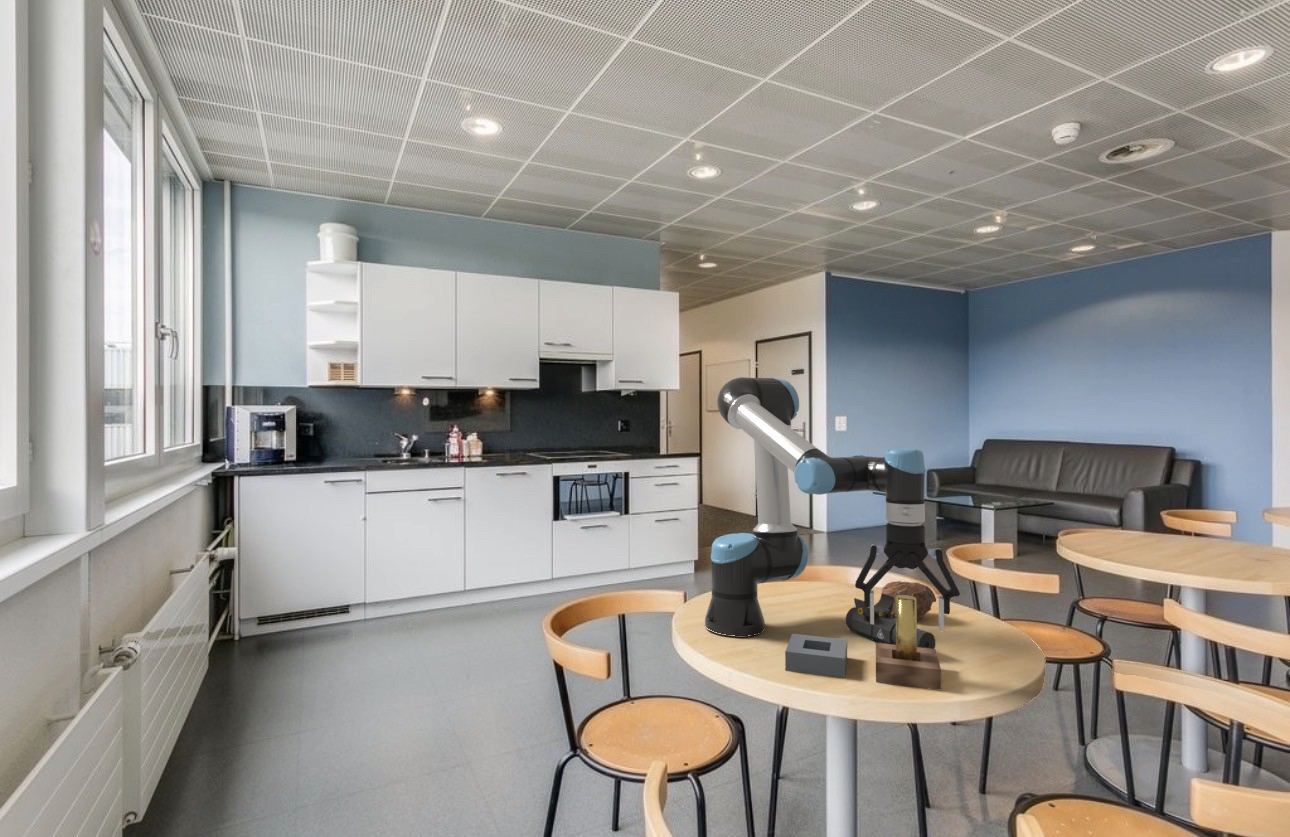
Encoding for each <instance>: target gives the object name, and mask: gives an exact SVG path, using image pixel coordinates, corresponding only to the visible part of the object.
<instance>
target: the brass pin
mask: <svg viewBox="0 0 1290 837" xmlns="http://www.w3.org/2000/svg"><path fill="white" fill-rule="evenodd" d="M895 618H896V659H901V660H910V661H917V628H918V627H917V626H918V625H917V624H918V623H917V622H918V620H917V606H916V598H915V597H913V596H908V595H898V596H896V617H895Z"/></svg>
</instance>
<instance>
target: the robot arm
mask: <svg viewBox="0 0 1290 837" xmlns="http://www.w3.org/2000/svg"><path fill="white" fill-rule="evenodd" d="M716 401H717V402H716V404H717V409H718V411H719V413H720V416H721V417H722V418H723V420H724V421H725V422H726V423H728V424H729V425H730V426H731V427H732V428H734V429H736V430H742V431H743V432H744V433H746V434H747V435H748V436H749V437H750V438H751V439H752V440H753V444H754V445H753V446H754V447H753V448H754V449H753V450H754V465H755V467H754V468H755V480H756V481H755V484H756V485H755V486H756V487H755V488H756V503H757V504H756V506H757V520H758V523H757V525H755V527H754V528H753V529H752V533H747V532H738V533H728V534H724V535H722V536H718V537H716V538H715V539H714V540H713V542H712V544H711V554H710V560H711V599H710V601H709V604H708V607H707V611H706V614H705V617H704V626H706V627H707V628H708V629H710V630H712V631H714V632H717V633H721V634H726V635H735V636H747V637H749V636H748V635H754V634H757V635H759V634H758V633H760V634H762V633H763V632H764V631H765V630H764V629H766V628H765V626H766V625H765V617H764V614H763V611H762V608H761V605H760V602H759V599H758V598H759V597H758V585H759V584H763V583H764V584H765V583H771V582H772V583H774V582H779V581H783V582H784V581H788V580H791V579H794V578H795V579H796V578H797V577H799V576H800V575H802V573H803V572H804V571H805V570H806V568H807V565H808V560H809V550H808V546H807V543H805V539H804V538H803V537H802V536H800V535H799V534H798V528H797V527H796V526H794V524H793V523H792V518H791V502H790V501H791V499H790V482H789V470H790V471H792V473H793V476H794V482H795V483H796V485H797V488H798V490H800V491H801V492H803V493H805V494H808V495H825V494H827V495H828V494H835V493H849V492H850V493H851V492H861V491H870V492H882V493H885V520H886V521H887V522H886V524H885V545H884V546H883V545H877V544H876V543H871V544H870V552H869V555H868V557H867V559H866V560H865V563H864V564H863V567H862V568H861V570H860V573H859V574H858V576H857V579H856V581H855V583H854V586H855V588H856V589H859V590H862V592H863V593H864V594H863V595H864V596H863V601H864V605H865V607H870V624H873V625H874V605H875V590H873V589H874V587H875V586H876V585H877V584H878V583H879V582H880V581H881V580H882V579H883V577H884V576H886V575H887V573H889V571H890V570H892V568H893V567H896V568H897V569H908V570H915V569H917V568H918V569H919V570H920V571H921V573H923V575H924V576H926V578H927V579H928V580H929V581H930V583H931V584H932V585H933V586H934V587H935V589H937V591H938V592H939V593H940V594H941V595H938V629H939V632H945V615H950V613H951V604H950V603H951V599H952V598H954V597H960V595H961V594H960V590H959V589H958V587H957V585H956V583H955V581H954V579H953V576H952V574H951V573H950V570H949V569H948V567H947V566H946V563H945V561H944V557H943V556H944V554H943V551H942V548H941V547H938V546H937V547H936V546H935V548H927V546H926V526H925V525H924V523H925V522H926V502H925V501H926V500H925V481H926V480H925V478H926V467H925V459H924V458H925V456H924V453H923V451H922V450H920V449H918V448H889V449H887V450H886V451H885V456H884V457H880V456H878V457H877V456H868V455H867V456H866V455H849V456H845V457H840V456H839V457H831V456H830V455H828V454H826V453H824V452H823V451H822V450H820V449H819V448H818V447H816V446H815V445H814V444H812V442H809V441H808V440H807V439H806V438H804V437H803V436H801V434H799V433H798V432H797V431H796V430H794V429H793V428H792V420H794V419H795V418H796V416H797V412H799V410H800V399H799V395H798V392H797V390H796V388H795V387H794V386H793V385H792V384H791V383H790V381H787V380H785V379H779V378H774V377H743V376H742V377H735V378H732V379H730V380H729V381H727V382H726V383H725V384H723V386H722V387H721V389H720V390H719V393H718V395H717V400H716ZM881 553H884V554H885V555H886V557H887V558H888V559H886V561H885V562H884V563H883V565H882V566H880V567H879V569H878V570H877V571H876V572H875V573H874V574H873V575H872V577H870V579H869V580H868V581H867V582H866V583H865V580H866V578H867V576H868V574H869V572H870V570H871V568H872V567H873V565H874V562H875V560H876V558H877V557H879V556H881ZM928 555H929V556H931V559H932V560H936V563H937V565H938V567H939V569H940V571H941V572H942V574H943V577H944V579H945V581H946V582H947V584H948V586H949V588H950V589H947V588H946V587H945V586H944V585H943V583H942V582H941V581H940V580H939V579H938V577H936V576H935V574H934V573H933V572H932V571H931V569H930V568H929V567H928V566H927V564H926V563H925V562H924V560H925V559H926V558H927V557H928ZM763 630H764V631H763ZM762 631H763V632H762ZM761 632H762V633H761ZM754 636H755V635H754Z"/></svg>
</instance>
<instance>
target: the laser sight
mask: <svg viewBox="0 0 1290 837" xmlns="http://www.w3.org/2000/svg"><path fill="white" fill-rule="evenodd" d="M894 598H895V597H893V596H890V595H886V594H883V593H882V592H881V593H880V598H879V601H878V602H877V603H875V604H874V625H873V624H870V607H865V605H864V599H859V598H856V597H855V598H853V600H854V607H851V608H850V609H849V610H848V611H847V612H846V616H845V625H846V627H847V628H848V630H850V631H852V632H855V633H856V634H857V635H859V636H861V637H863V638H866V639H869V640H871V641H875V643H883V644H893V645H896V617H894V616H891V612H892V609H893V603H894ZM917 647H920V648H930V649H935V648H936V638H935V636H934V634H933V633H932V632H929V631H926V630H922V629H920V628H918V627H917Z"/></svg>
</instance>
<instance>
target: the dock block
mask: <svg viewBox="0 0 1290 837" xmlns="http://www.w3.org/2000/svg"><path fill="white" fill-rule="evenodd" d="M875 682H876V683H880V684H881V683H882V684H888V685H889V684H890V685H896V686H904V687H910V688H911V687H912V688H922V689H927V688H930V689H929V690H935V689H941V690H942V668H941V664H940V661H939V657H938V653H937V650H936V649H930V648H920V647H917V661H910V660H901V659H896V645H893V644H883V643H879V642H875Z"/></svg>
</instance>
